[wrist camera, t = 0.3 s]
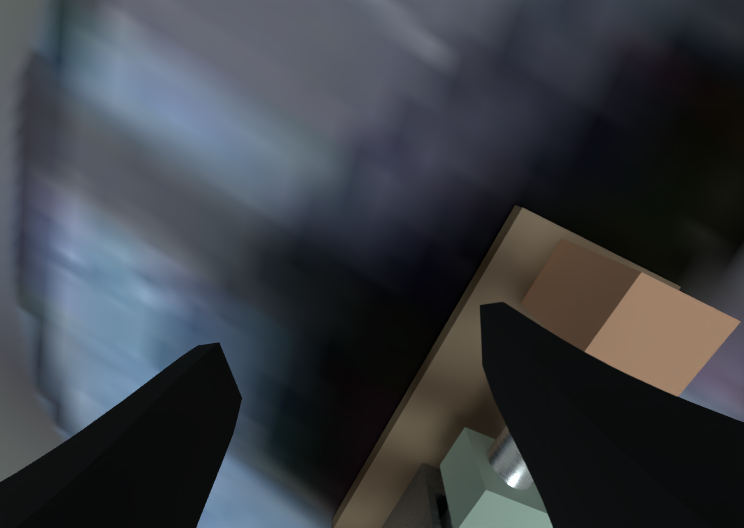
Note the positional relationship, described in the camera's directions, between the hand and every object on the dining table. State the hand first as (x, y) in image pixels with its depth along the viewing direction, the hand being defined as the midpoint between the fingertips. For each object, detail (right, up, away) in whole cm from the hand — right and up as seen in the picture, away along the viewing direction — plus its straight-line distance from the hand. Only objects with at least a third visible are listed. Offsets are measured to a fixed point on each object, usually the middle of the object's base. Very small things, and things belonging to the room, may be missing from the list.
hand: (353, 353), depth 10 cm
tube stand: (+7, -7, +13) cm, 17 cm away
